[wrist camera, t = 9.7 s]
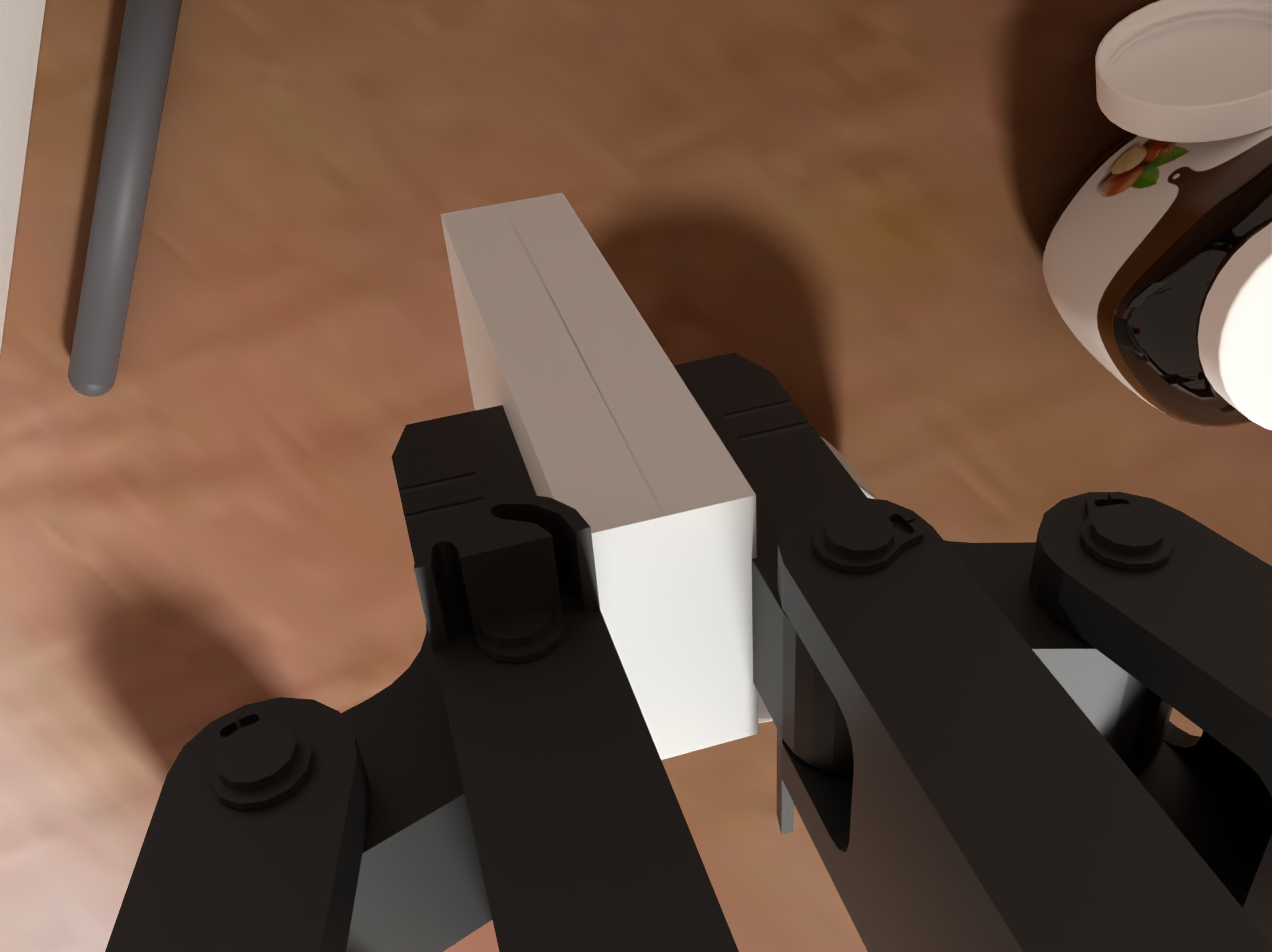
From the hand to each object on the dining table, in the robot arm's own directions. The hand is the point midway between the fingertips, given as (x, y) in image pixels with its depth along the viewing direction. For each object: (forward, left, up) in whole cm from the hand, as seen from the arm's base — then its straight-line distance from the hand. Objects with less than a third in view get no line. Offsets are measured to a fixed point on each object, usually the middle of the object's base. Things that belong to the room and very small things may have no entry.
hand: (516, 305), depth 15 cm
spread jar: (+9, +21, -29) cm, 37 cm away
